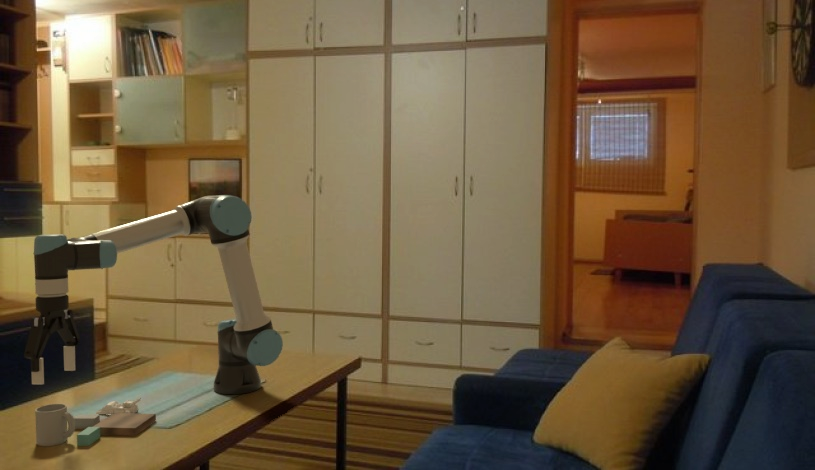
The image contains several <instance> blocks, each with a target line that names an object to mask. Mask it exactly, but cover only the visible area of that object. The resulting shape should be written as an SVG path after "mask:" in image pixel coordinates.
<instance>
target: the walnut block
mask: <svg viewBox="0 0 815 470" xmlns="http://www.w3.org/2000/svg"><path fill="white" fill-rule="evenodd" d="M156 417H157V415H156V413H137V412H135V413H114V414H112V415H109V416H107V417H106V418H104V419H103V420H100V422H99V423H98V424H96V425H94V426H93V427H100V436H101V435H103V436H131V437H132V436H133V437H134V436H137V435H138V434H140V433H142V431H144V430H145V429H147V428H148V427H150V426H151V425H152V424H154V423H155V422H156V421H155V420H157V419H156ZM154 421H155V422H154ZM153 422H154V423H153ZM151 423H152V424H151ZM150 424H151V425H150Z"/></svg>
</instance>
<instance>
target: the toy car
mask: <svg viewBox="0 0 815 470" xmlns="http://www.w3.org/2000/svg"><path fill="white" fill-rule="evenodd" d="M140 401H141V398H140V397H137V399H136V400H133V401H132V400H131V401H130V400H129V399H127V400H126V401H124V402H123V403H119V401H117V400H116V401H115V400H114V401H113V400H112V401H110V402H108V403H107V404H106V405H105V406H103V407H102V408H101V409H98V410H97V411H96V413H95V415H96V414H107V415H106V416H108V414H111V415H112V414H114V413H134V412H135V413H137V412H138V411H137V410H139V407H138V404H137V403H139V402H140ZM136 411H137V412H136ZM111 415H110V416H111Z"/></svg>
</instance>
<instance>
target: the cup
mask: <svg viewBox="0 0 815 470" xmlns="http://www.w3.org/2000/svg"><path fill="white" fill-rule="evenodd" d="M67 409H68V405H67V404H65V403H50V404H45V405H41V406H39V407H36V408H35V409H34V411H35V438H36V439H35V440H36V444H37V446H39V447H53V446H58V445H61V444H65V442H66V441H67V439H68V438H71V437H72V436H73V435H74V432H75V430H76V429H75V420H74V416H73V415H72V414H71V412H67V411H68V410H67Z"/></svg>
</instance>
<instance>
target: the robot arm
mask: <svg viewBox="0 0 815 470" xmlns="http://www.w3.org/2000/svg"><path fill="white" fill-rule="evenodd" d="M251 222H252V212H251V209H250V206H249V205H248V204H247V202H246V201H245V200H243V199H242V198H240V197H239V196H235V195H231V194H220V195H216V194H215V195H212V194H211V195H206V196H202V197H199V198H197V199H194V200H190V201H188V202H185V203H183V204H179V205H176V206H175V207H174V208H173V210H171V211H170V210H169V211H167V212H163V213H161V214H155V215H153V216H149V217H146V218H141V219H139V220H135V221H132V222H129V223H126V224H125V223H124V224H122V225H117V226H114V227H111V228H106V229H104V230H100V231H98V232H93V233H91V234H87V235H82V236H78V237H70V238H68V237H67V235H66V234H62V233H59V234H58V233H57V234H56V233H55V234H53V233H52V234H51V233H49V234H48V233H47V234H39V235H36V236H35V238H34V239H33V241H34V242H33V261H34V263H33V264H34V278H35V279H34V282H35V283H34V286H35V294H36V295H37V296H36V297H35V300H34V301H35V310H36V312H39V313H40V314H39V315H40V316H39V317H32V318H31V320H30V321H31V322H30V323H31V324H30V331H29V334H28V336H27V337H28V339H27V342H26V345H25V349H24V354H23V357H24V358H25V359H27V360H30V372H31V385H45V371H44V370H45V367H44V357H42V355H43V352H44V350H45V348H46V346H47V343H48V341H49V338H50V337H51V336H52V335H53V334H54V333H55V332H57V333H58V334H59V336H60V338H61V339H62V341H63V342H64V346H63V368H64V369H63V370H64V372H65V371H67V372H69V371H70V372H73V371H76V346H79V345H80V342H81V337H80V333H79V331H78V328H77V325H76V322H75V319H74V314H73V309H69V308H70V306H69V305H70V304H69V302H70V299H69V295H68V294H67V293H69V271H77V270H78V271H79V270H80V271H81V270H94V269H95V270H99V269H101V270H103V269H108V268H109V269H110V268H113V267H114V266H115V265H116V263H117V260H118V254H121V253H124V252H128V251H130V250H135V249H136V248H140V247H143V246H146V245H150V244H153V243H156V242H159V241H160V242H161V241H163V240H166V239H170V238H173V237H177V236H180V235H182V236H184V237H187V236H190V235H191V236H192V235H194V234H203V233H204V234H205V233H207V234H208V237H209V240H210V243H211V245H212V246H213V247H215V248H217V249H218V250H217V251H218V254H219V258H220V261H221V265H222V269H223V273H224V277H225V281H226V284H227V288H228V292H229V295H230V300H231V303H232V307H233V311H234V315H235V318H231V319H225V320H221V321H220V322H219V323H218V324H217V345H218V347H217V349H218V353H217V354H218V368H217V371H216V375H215V378H214V380H213V391H214V392H216V393H218V394H222V395H242V394H248V393H252V392H256V391H257V390H259V389H261V387H262V381H261V377H260V375H259V372H258V368H257V366H259V367H266V366H270V365H272V364H274V362H276V361H277V359H278V358H279V357H280V355H281V353H282V350H283V347H284V343H283V337H282V335H281V334H280V333H279V332H278V331H277V330H275V329H274V327H273V323H272V319H271V317H270V316H269V315H267V314H265V311H264V308H263V304H262V299H261V295H260V291H259V288H258V283H257V280H256V279H257V278H256V276H255V272H254V268H253V263H252V259H251V256H250V252H249V248H248V244H247V240H248V238H249V237H250V230H249V228H250V224H251Z"/></svg>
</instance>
